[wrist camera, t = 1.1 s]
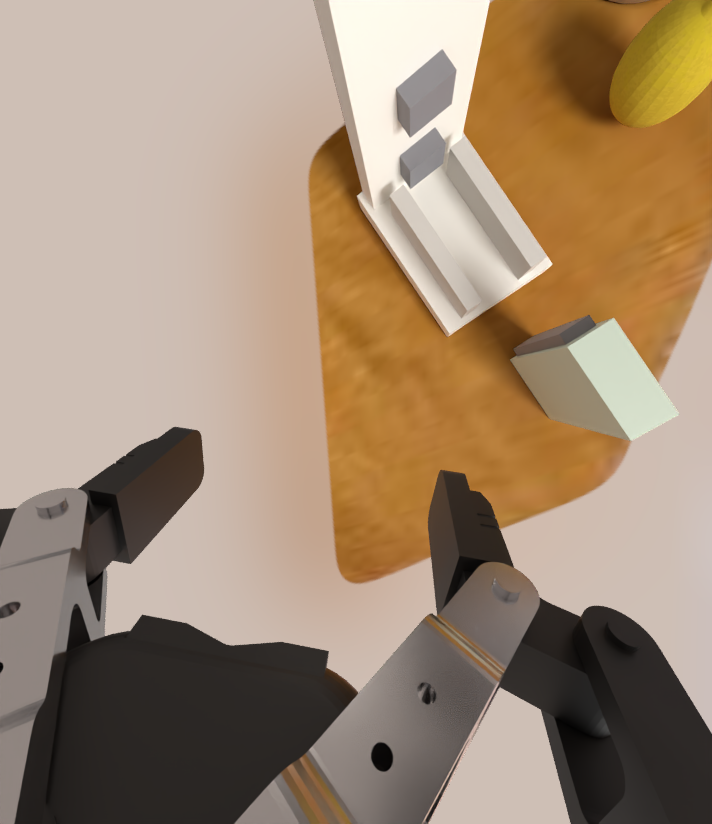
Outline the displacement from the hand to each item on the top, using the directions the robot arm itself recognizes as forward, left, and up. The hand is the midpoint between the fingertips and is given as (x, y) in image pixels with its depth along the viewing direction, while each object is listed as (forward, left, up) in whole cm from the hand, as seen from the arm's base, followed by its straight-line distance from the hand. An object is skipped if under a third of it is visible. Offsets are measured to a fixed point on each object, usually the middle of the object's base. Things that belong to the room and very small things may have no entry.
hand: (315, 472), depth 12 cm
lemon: (-21, -22, -20) cm, 36 cm away
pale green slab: (-14, -2, -20) cm, 25 cm away
